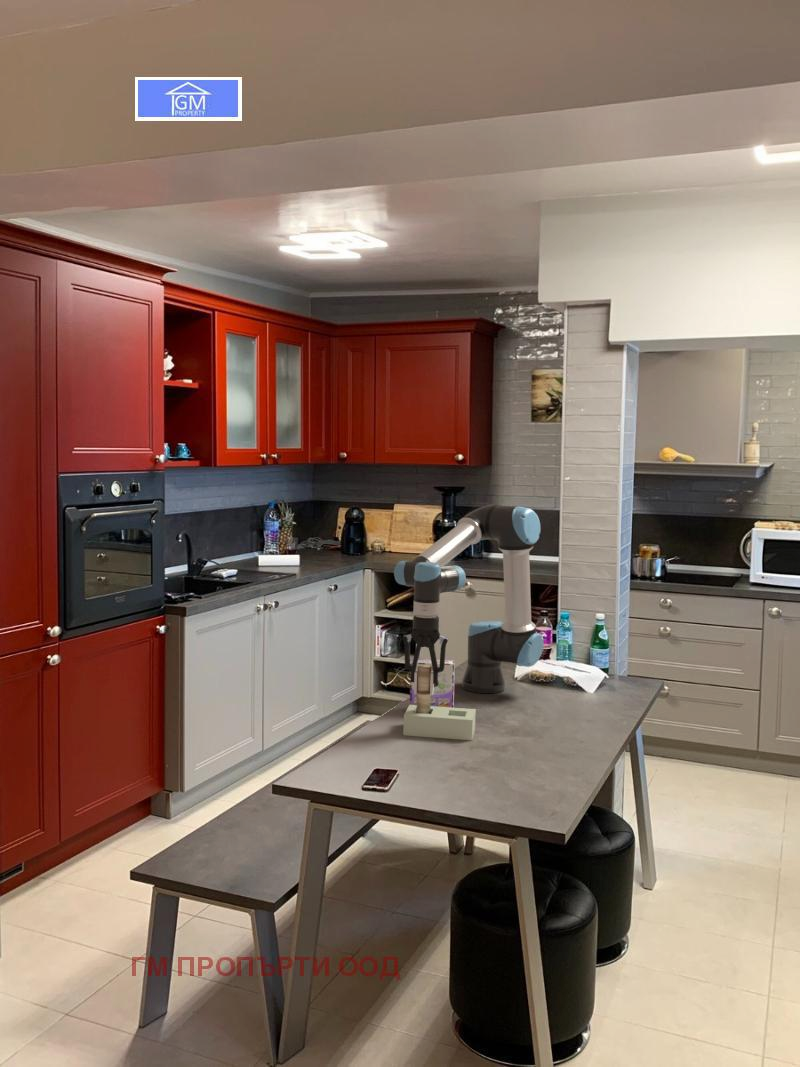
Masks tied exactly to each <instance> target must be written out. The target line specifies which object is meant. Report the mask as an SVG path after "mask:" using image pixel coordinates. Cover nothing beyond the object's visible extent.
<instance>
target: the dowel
mask: <svg viewBox="0 0 800 1067" xmlns="http://www.w3.org/2000/svg"><path fill="white" fill-rule="evenodd" d="M430 678H431V667H430V666H418V674H417V713H422V714H430V700H431V695H430Z"/></svg>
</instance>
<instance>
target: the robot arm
mask: <svg viewBox="0 0 800 1067" xmlns="http://www.w3.org/2000/svg"><path fill="white" fill-rule="evenodd" d="M540 534H541V522H540V519H539V516H538V514H537V513H536V512H535V510H533V509H531V508H529V507H523V506H514V505H512V506H511V505H502V504H501V505H499V504H488V505H484V506H481V507H479V508H476V509H474V510H473V511H470V512H468V513H467V514H466V515H464V516H462V518H460V519H459V520H458V522H457V524H456V526H455V527H453V528H452V529H451V530H449V531H448V532H447V533H446V534H445V535H443V536H442V537H440V539H438V540H437V541H436V542H434V543H433V544H432V545H430V546H428V548H426V549H425V550H424V551H422V552H421V553H420V554H419V555H417V556H416V557H414V558H413V559H412V560H410V561H409V560H401V561H399V562H397V564H396V565H395V566H394V572H393V576H394V579H395V582H396V583H397V584H398V585H401V586H406V587H411V588H414V590H413V596H414V597H413V610H412V614H414V616H413V617H412V620H413V621H412V630H411V633H410V634H405V635H403V636H402V641H403V644H404V669H405V670H408V671H409V672H410V677H411V682H414V694H417V674H418V670H416V666H417V662H418V659H420V658H419V657H420V653H421V649H422V648H428V651H429V655H430V656H429V657H430V659H431V662H432V668H433V671H432V672H431V678H430V695H432V696H433V693H434V684H437V682H438V673H439V672H442V671H443V670H444V666H445V660H446V649H447V648H446V647H447V644H448V641H449V638H448V637H445V636H442V635H441V634H440V631H439V627H440V624H439V623H440V617H439V614H440V595H441V594H442V593H443V594H444V593H448V592H449V593H450V592H455V591H457V590H461V589H462V588H463V587H464V586H465V584H466V580H467V577H466V572H465V570H464V569H463V568H462V567H461V566H459V565H453V564H452V565H451V564H450V565H449V566H445V565H446V564H448V563H450V561H452V560H453V559H455V557H457V556H458V555H459V554H460V553H462V552H463V551H464V550H466V549H467V548H468V547H469V546H470V545H476V544H478V543H480V541H484V540H493V541H497V548H498V550H499V551H500V552H502V563H503V565H502V566H503V588H504V589H503V590H504V593H503V594H504V612H505V613H504V614H505V615H504V616H505V617H504V618H505V619H504V620H505V621H504V622H502V621H497V620H487V621H486V620H485V621H479V622H478V621H477V622H473V623H471V624H470V625H469V627H468V633H467V637H468V638H467V664H466V667H465V668H466V669H465V670H464V674H463V676H462V680H461V688H462V689H463V690H465V691H467V692H473V693H478V694H495V693H496V694H497V693H501V692H504V691H505V690H506V679H505V676H504V673H503V669H502V663H505V664H510V665H514V666H518V667H527V668H531V667H533V666H535V665H536V664H537V663H538V661H539V660H540V658H541V656H542V654H543V650H544V645H545V643H544V642H545V641H544V637H543V636H542V634H540V633H539V632H537V626H536V623H534V622H533V621H532V605H531V604H532V602H531V601H532V599H531V569H530V568H531V567H530V566H531V565H530V551H531V550H532V549H533V548H534V544H536V543H537V541H538V540H539V539H540ZM412 639H413V641H414V642H415V644H416V646H415V652H414V655H413V663H412V665H411V641H412ZM438 640H439V644H440V645H441V646H440V655H439V660H440V667H438V665H437V660H438V659H437V655H436V649H435V645H436V643H437V642H438Z"/></svg>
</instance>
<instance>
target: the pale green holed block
mask: <svg viewBox="0 0 800 1067" xmlns="http://www.w3.org/2000/svg"><path fill="white" fill-rule="evenodd" d="M476 711H477V709H476V708H465V707H464V708H463V707H461V708H460V707H454V708H451V707H437V706H430V714H422V713H417V705H410V704H409V705H408V707H407V709H406V710H405V712H404V714H403V731H402V732H403V733H402V734H403V736H408V737H410V736H411V737H423V738H433V739H434V738H437V739H446V740H447V739H450V740H461V741H473V738H474V735H475V734H474V733H475V730H476V716H477V715H476V714H477V712H476Z"/></svg>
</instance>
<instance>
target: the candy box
mask: <svg viewBox="0 0 800 1067" xmlns="http://www.w3.org/2000/svg"><path fill="white" fill-rule="evenodd" d="M413 658H414V657H413ZM413 658H412V659H411V660H410V665H412V663H413ZM436 660H437V665H438V667H440V659H436ZM418 666H430V667H431V672H432V671H433V668H432V662H431V658H430V659H429V658H418V662H417V666H416V670H418ZM409 677H410V678H409V679H410V681H409V682H410V685H409V686H410V688H409V691H410V692H409V705H417V694H414V682H411V676H409ZM454 701H455V660H454V659H445V666H444V670H443V671H442V672H439V673H438V682H437V684H434V693H433V696H432V695H431V700H430V706H437V707H451V708H455V707H454V703H455V702H454Z"/></svg>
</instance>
